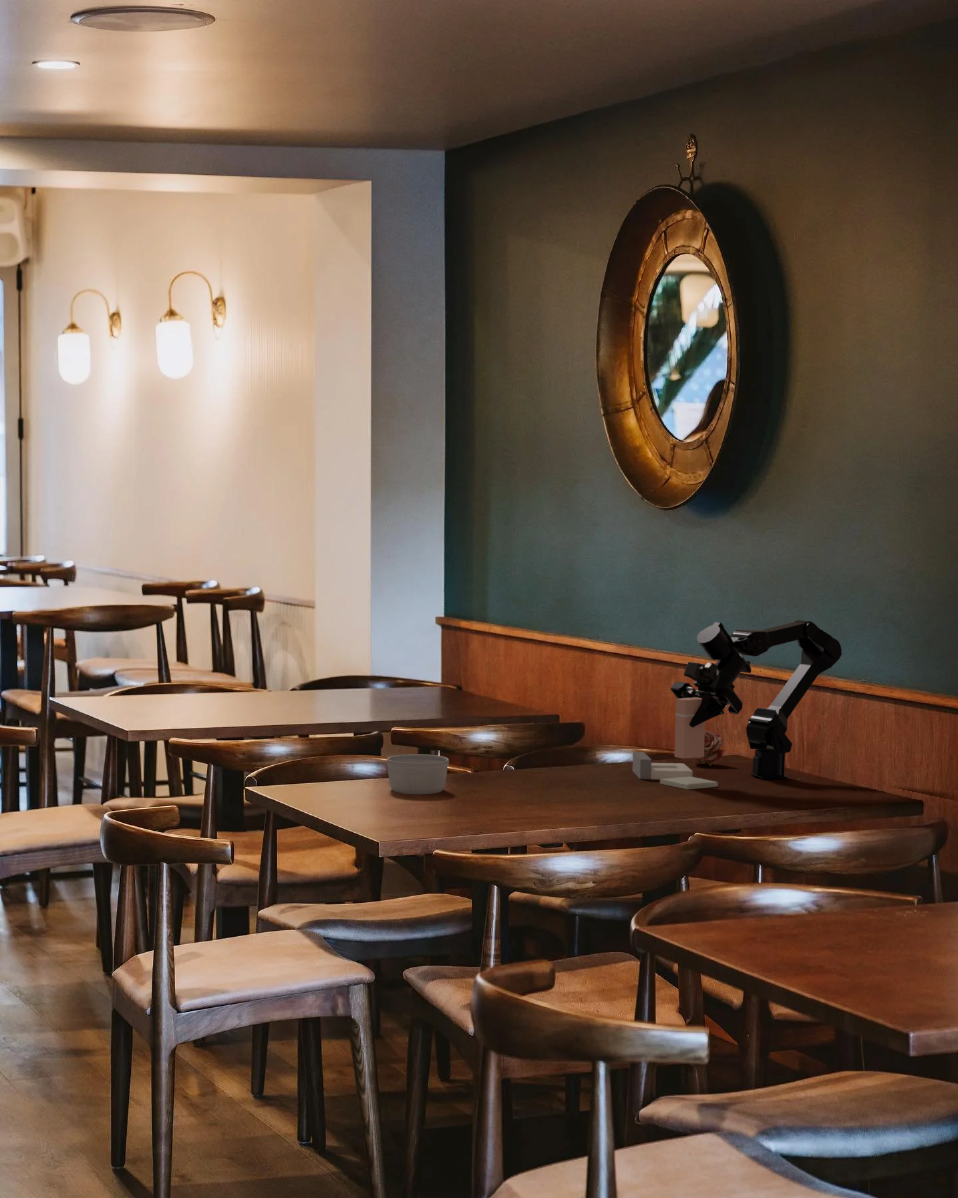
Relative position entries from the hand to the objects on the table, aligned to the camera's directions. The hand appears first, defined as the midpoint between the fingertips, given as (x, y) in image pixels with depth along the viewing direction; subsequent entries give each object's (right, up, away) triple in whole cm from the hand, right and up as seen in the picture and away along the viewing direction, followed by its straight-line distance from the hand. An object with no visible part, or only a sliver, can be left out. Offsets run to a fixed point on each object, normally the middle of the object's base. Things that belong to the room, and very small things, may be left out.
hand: (685, 725), depth 360 cm
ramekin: (-59, -13, -15) cm, 62 cm away
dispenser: (-4, -13, +15) cm, 20 cm away
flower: (+9, -12, +34) cm, 37 cm away
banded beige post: (+1, -7, +1) cm, 7 cm away
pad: (+1, -13, +1) cm, 14 cm away
